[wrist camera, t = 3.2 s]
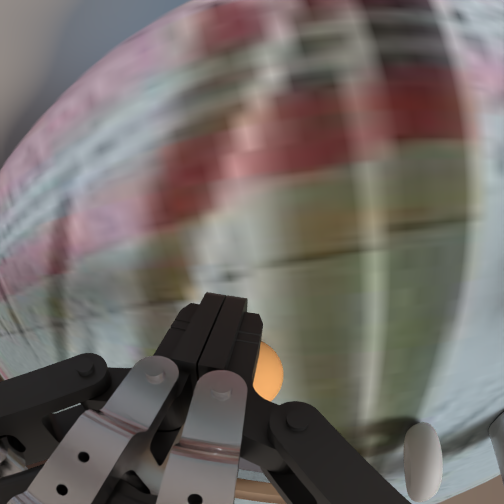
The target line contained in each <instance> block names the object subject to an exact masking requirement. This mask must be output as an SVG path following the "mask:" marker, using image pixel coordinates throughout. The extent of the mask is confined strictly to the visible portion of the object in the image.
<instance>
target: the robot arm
mask: <svg viewBox="0 0 504 504" xmlns="http://www.w3.org/2000/svg"><path fill="white" fill-rule="evenodd" d="M262 328H263V323H262V320H261V318H260V315H259V314H255V313H248V312H247V298H241V297H234V296H226V295H221V294H215V293H208V292H207V293H206V294H205V295H204V297H203V299H202V301H201V303H200V305H199V304H194V303H190V304H189V305H187V306H186V307H184V308H183V309H182V310H181V311H180V312H179V314H178V315H177V317H176V319H175V321H174V322H173V324H172V325H171V328H170V329H169V330H168V332H167V334H166V335H165V337H164V339H163V340H162V342H161V344H160V345H159V347H158V349H157V350H156V352H155V354H154V355H153V356H149V357H145V358H143V359H141V360H139V361H138V362H137V363H136V364H135V365H134V366H133V368H108V367H107V364H106V362H105V360H104V359H103V358H102V357H101V356H99V355H97V354H93V353H85V354H80V355H77V356H75V357H72V358H69V359H66V360H64V361H61V362H58V363H55V364H52V365H49V366H46V367H44V368H41V369H38V370H35V371H32V372H29V373H26V374H23V375H20V376H17V377H14V378H11V379H8V380H5V381H2V382H0V504H234V500H235V493H236V484H237V477H238V469H239V461H240V457H241V458H243V459H245V460H247V461H249V462H251V463H253V464H256V465H258V466H260V468H261V470H262V472H263V473H264V474H265V476H266V477H267V479H268V480H269V481H270V483H271V484H272V485H273V487H274V488H275V489H276V491H277V492H278V493H279V495H280V496H281V497H282V498H283V500H284V501H285V502H286V503H287V504H411V503H410V502H409V501H408V500H407V499H406V498H405V497H403V496H402V495H401V494H400V493H399V492H398V491H397V490H396V489H395V488H394V487H393V486H392V485H391V484H390V483H388V482H387V481H386V480H385V479H384V478H383V477H382V476H381V475H380V474H379V473H378V472H377V471H376V470H375V469H374V468H373V467H372V466H371V465H370V464H369V463H368V462H367V461H366V460H365V459H364V458H363V457H362V456H361V455H360V454H359V453H358V452H357V451H356V450H355V449H354V448H353V447H352V446H351V445H350V444H349V443H348V442H347V441H346V440H345V439H344V438H343V437H342V435H341V434H340V433H339V432H338V431H337V430H336V429H335V428H334V427H333V426H332V425H331V424H330V423H329V422H328V421H327V420H326V419H325V417H324V416H323V415H322V414H321V413H320V412H319V411H318V410H317V409H316V408H315V407H313V406H311V405H309V404H307V403H304V402H297V401H293V402H286V403H284V404H281V405H277V404H275V403H272V402H270V401H268V400H266V399H264V398H263V397H261V396H260V395H259V394H258V393H257V392H256V391H255V389H254V387H253V382H254V378H255V373H256V368H257V363H258V358H259V352H260V344H261V336H262ZM78 403H81V405H78V406H75V407H73V408H70V409H67V410H65V411H62V412H59V413H55V414H52V413H54V412H56V411H59V410H62V409H65V408H67V407H70V406H73V405H76V404H78ZM488 432H489V435H490V438H491V441H492V445H493V448H494V451H495V455H496V458H497V462H498V465H499V469H500V473H501V476H502V481H503V485H504V412H503V413H502V414H501V415H500V416H499V417H498V418H497V419H496V420H495V421H494V422H493V423H492V424H491V426H490V428H489V430H488ZM46 459H48V460H47V462H46V463H45V464H42V465H40V466H37V467H34V468H31V469H27V468H26V467H25V466H26V465H30V464H33V463H37V462H40V461H43V460H46Z"/></svg>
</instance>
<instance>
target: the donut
mask: <svg viewBox="0 0 504 504" xmlns="http://www.w3.org/2000/svg"><path fill="white" fill-rule="evenodd" d="M404 470H405V481H406V487H407V492H408V495H409V497H410V498H411V499H412V500H413V501H415V502H423V501H426V500H428V499H430V498H431V497H433V496H434V495H435V494H436V493H437V491H438V489H439V487H440V484H441V481H442V474H443V460H442V451H441V445H440V441H439V437H438V435H437V433H436V431H435V429H434V428H433V427H432V426H431V425H430V424H428V423H425V422H422V423H418V424H416V425H413V426H412V427H411V428H409V430H408V431H407V433H406V435H405V439H404Z"/></svg>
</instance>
